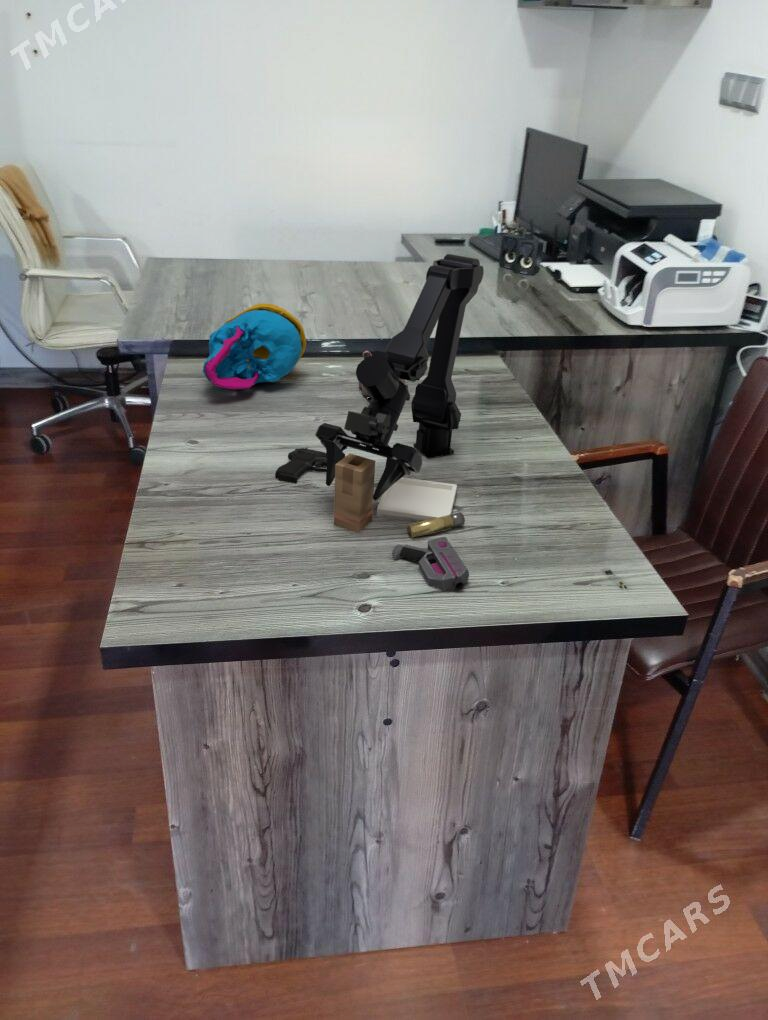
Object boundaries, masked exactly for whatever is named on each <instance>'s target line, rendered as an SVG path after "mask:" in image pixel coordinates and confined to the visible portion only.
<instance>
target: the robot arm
mask: <svg viewBox="0 0 768 1020" xmlns="http://www.w3.org/2000/svg"><path fill="white" fill-rule="evenodd" d="M432 262H433V264H432V265H430V266H429V268H428V269H427V271H426V276H425V282H424V285H423V286H422V289H421V291H420V293H419V295H418V297H417V301H416V302H415V305H414V307H413V309H412V311H411V313H410V315H409V318H408V320H407V322H406V324H405V326H404V328H403V329H402V330H401V331H399V332H398V333H397V334H396V335H394V336H393V337H391V339H390V341H389V342H388V344H387V346H386V348H385V349H384V350H380V349H376V350H375V351H374V354H373V355H372V356H369V357H367V358H365V359H364V358H363V359H362V360H361V361H360V363H358V365H356V369H355V376H356V379H357V380H358V383H359V382H360V384H361V385H362V386H363V388H364V389H365V391H366V392H367V393H368V395H369V396H370V402H369V404H368V406H364V407H363V408H362V410H361V412H356V411H350V410H348V412H347V415H346V420H345V422H344V423H345V424H344V428H342V426H339V425H338V426H337V425H333V424H329V423H326V422H323V423H322V424H320V425H319V426H318V427H317V429H316V432H315V436H316V438H317V439H318V440H319V441H320V443H321V445H322V446H323V447H324V448H325V451H326V452H325V453H327V467H326V469H327V470H326V472H325V485H326V486H328V487H330V486H331V485H332V483H333V482H334V481H335V464H337V463H338V462H339V461H341V460H342V459H343V458H344V457H345V456H346V454H345V453H344V451H345V450H347V449H348V447H349V448H352V449H355V450H359V451H362V452H366V453H369V454H373V455H376V456H380V457H383V458H386V461H385V466H384V469H383V472H382V474H381V476H380V479H379V480H378V483H377V485H376V487H375V488H374V495H373V501H377V500H378V499H380V498H381V497H382V495H383V494H384V493H385V492H386V491H387V490H388V489H389V488H390V487H391V486H392V485H393V484H394V483H395V482H397V481H398V480H399V479H401V478H402V477H403V478H404V477H405V476H411V474H412V473H415V474H419V473H420V470H421V468H422V465H423V458H422V456H421V455H420V454H419V452H420V453H421V454H422V455H423V456H424V457H426V458H427V459H434V458H438V457H439V458H440V457H443V456H448V455H454V454H455V450H454V449H453V448H451V446H452V445H451V444H452V435H453V430H458V429H459V426H460V425H459V424H460V422H461V417H462V413H461V411H460V409H459V408H458V405H457V404H456V400H457V391H456V389H455V388H456V387H455V385H454V382H453V379H452V378H453V373H454V372H453V371H454V367H455V362H456V356H457V351H458V347H459V342H460V338H461V332H462V327H463V322H464V321H463V320H464V316H465V312H466V306H467V305H468V303H469V302H471V300H472V299H473V298H474V297H475V296H476V294H477V293H478V290H479V285H480V284H481V283H482V281H483V278H484V271H485V270H484V266H483V265H481V262H480V260H479V258H474V257H470V256H463V255H458V254H454V253H453V254H452V253H447V254H445V256H444V257H443V258H440V259H436V260H433V261H432ZM435 328H436V329H435ZM434 329H435V335H434V338H433V339H434V340H433V345H432V351H431V357H430V356H429V351H428V343H429V341H430V338H431V336H432V334H433V331H434ZM429 359H430V360H429ZM428 361H429V368H428ZM427 370H428V372H427ZM426 372H427V376H426V377H425V378H424V379H423V380H422V381H421V382H420V383H418V384H417V385H416V387H415V392H414V395H413V396H412V401H411V405H410V407H411V408H410V409H411V413H412V414H411V415H412V422H413V423H418V429H417V430H416V437H415V443H413V446H410V445H407V444H403V443H399V442H395V444H393V445H392V447H391V446H390V445H389V443H390V440H391V438H392V435H393V433H394V431H395V432H397V431H398V428H399V425H398V424H397V423H398V422H399V421H398V420H399V418H400V416H401V413H402V412H403V409H404V407H405V406H404V405H405V404H406V401H410V400H411V394H410V392H409V386H408V385H407V384H405V385H404V383H403V382H401V381H400V380H401V379H404V380H405V381H408V382H412V383H414V382H417V381H420V380H421V378H422V377H424V375H425V374H426ZM399 378H400V380H399ZM345 431H349V432H351V434H352V435H355V436H351V435H349V434H347V432H345ZM418 451H419V452H418Z"/></svg>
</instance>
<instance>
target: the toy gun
mask: <svg viewBox="0 0 768 1020" xmlns="http://www.w3.org/2000/svg"><path fill="white" fill-rule="evenodd" d="M392 557H393V560H394V561H397V560H399V559H400V558H401V559H402V560H403V559H404V560H408V561H413V562H418V570H419V572H420V571H421V572H420V573H421V575H422V576H423V578H424V580H425V582H426V584H427V583H428V584H427V585H428V586H429V585H430V586H429V587H433V586H434V587H433V588H437V589H441V590H442V591H443V592H444V591H445V590H446V591H453V590H456V591H460V590H462V589H463V588H464V587H465V584H466V583H467V582H468V580H469V577H470V572H469V569H468V568H467V566H466V565H465V563H464V561H463V560H462V559H461V557H460V556H459V555H458V553H457V550H455V548H453V545H452V543H451V541H449V540H448V538H447V537H446V536H441V537H436V538H431V539H429V540H428V541H427V548H422V547H418V546H413V545H409V544H403V545H402V544H396V545H395V546H394V547H393V549H392ZM433 562H434V563H433ZM452 589H453V590H452Z"/></svg>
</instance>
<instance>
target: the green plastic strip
mask: <svg viewBox="0 0 768 1020" xmlns="http://www.w3.org/2000/svg"><path fill="white" fill-rule="evenodd" d="M604 573H605V574H606V575H607V576H610V575H613V576H612V577H611V579H612V580H614V578H615V576H616V575H615V574H613V571H612V570H611V569H609V570H605V571H604ZM623 586H624V587H623ZM618 587H619V588H620V589H623V588H624V589H626V588H627V589H628V587H627V586H626V584H625V583H623V582H622V581H619V586H618Z"/></svg>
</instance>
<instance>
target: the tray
mask: <svg viewBox="0 0 768 1020" xmlns="http://www.w3.org/2000/svg"><path fill="white" fill-rule="evenodd" d="M457 489H458V484H454V483H447V482H440V481H433V480H424V479H417V478H411V477H410V478H409V477H404V476H403V477H402V478H401V479H399V480H398V481H397V482H395V483H394V484H393V485H392V486H391V487H390V488H389V489H388V490H387V491H386V492H385V493H384V494H383V495H381V496H380V500H379V503H378V506H377V508H376V517H381V518H388V519H395V520H401V521H409V522H413V523H417V522H421V521H425V520H430V519H434V518H438V517H442V516H446V515H450V514H453V508H454V503H455V500H456V499H455V498H456V496H457V495H456V494H457Z"/></svg>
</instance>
